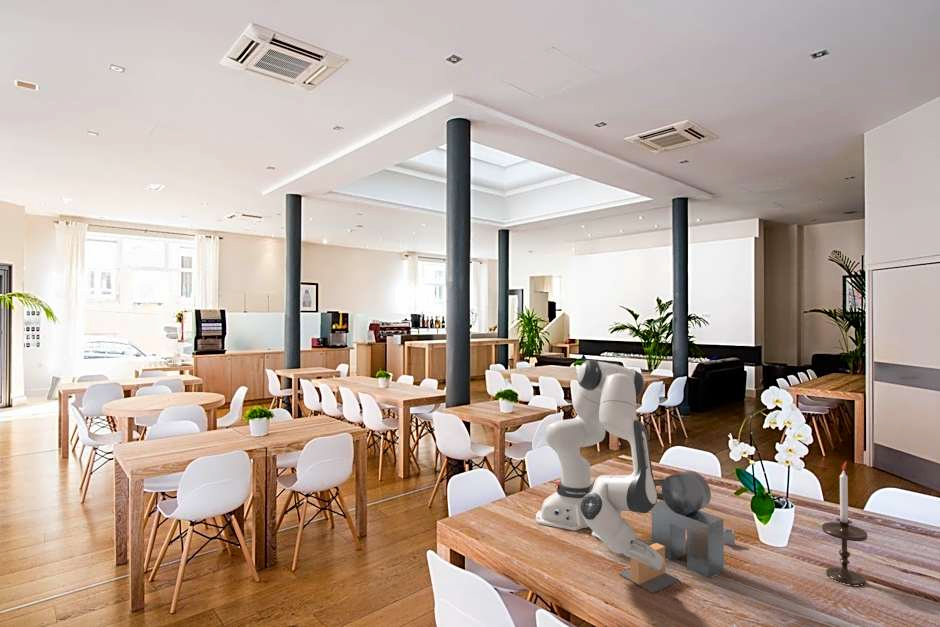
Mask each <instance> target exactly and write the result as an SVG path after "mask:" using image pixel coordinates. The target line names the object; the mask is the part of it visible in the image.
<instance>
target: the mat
mask: <svg viewBox="0 0 940 627" xmlns="http://www.w3.org/2000/svg"><path fill="white" fill-rule="evenodd" d="M618 576H620V577H622V578H624V579H626V580H628V581H629V580H630V582H631V583H633V584H634V585H637V583H635V582H633V581H632V580H631V570H630V568H629V569H627V570H624V571H621V572H620V573H618ZM677 582H680V579H679V578H678V577H675V576H673V575H671V574H669V573H667V572H665V573H664V574H662V575H659V576H657V577H655V578H653V579H650V580H648V581H646V582H643V583H641V584H638V585H640V586H642V587H644V588H645V589H644V588H643V589H644V590H646V589H647V590H646V591H648V590H649V591H648V592H650V591H651V592H654V591H656V590H658V591H660V590H662V589H664V587H665V588H666V586H667V587H669V586H671V585H673V584H675V583H677ZM638 585H637V586H638ZM668 585H669V586H668ZM640 586H639V587H640ZM642 587H641V588H642ZM661 588H662V589H661ZM659 589H660V590H659ZM651 592H650V593H651ZM656 592H657V591H656ZM654 593H655V592H654Z"/></svg>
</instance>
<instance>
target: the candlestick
mask: <svg viewBox="0 0 940 627" xmlns="http://www.w3.org/2000/svg"><path fill="white" fill-rule="evenodd" d="M847 464H848V463H847V461H845V462H844V463H843V465H842V466H841V469H842V472H841V474H840V475H839V514H840V515H839V517H838V518H836V519H835V520H836V521H837V522H835V521H833V522H824V523H822V524H821V531H822V532H823V533H825V534H827V535H829V536H830V537H833V538H836V539H839V540H841V549H840V550H838V554H839V555H840V556H841V558H839V562H840V563H841V568H840V567H830V568H827V569H826V571H825V574H827V575H826V576H828V577H830V578H831V579H833V580H836V581H838V582H841V583H845V584H850V585H861V584H863V583H864V584H865V578H864V577H863V576H862V575H860V574H858V573H857V572H854V571H851V570H849V569H848V566H849V565H850V563H851V562H850V561H849V558H850V556H851V552H850V551H848V542H850V541H851V542H864V541H867V540H868V533H867V531H865V530H864V529H862V528H861V527H857V526H855V525H852V524H853V521H852V520H850V519H849V497H848V496H849V495H848V494H849V493H848V492H849V491H848V490H849V489H848V487H849V486H848V483H849V482H848V475H846V474H847V473H846V467H847ZM828 577H827V578H828ZM830 578H829V579H830ZM831 579H830V580H831ZM833 580H832V581H833Z"/></svg>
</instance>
